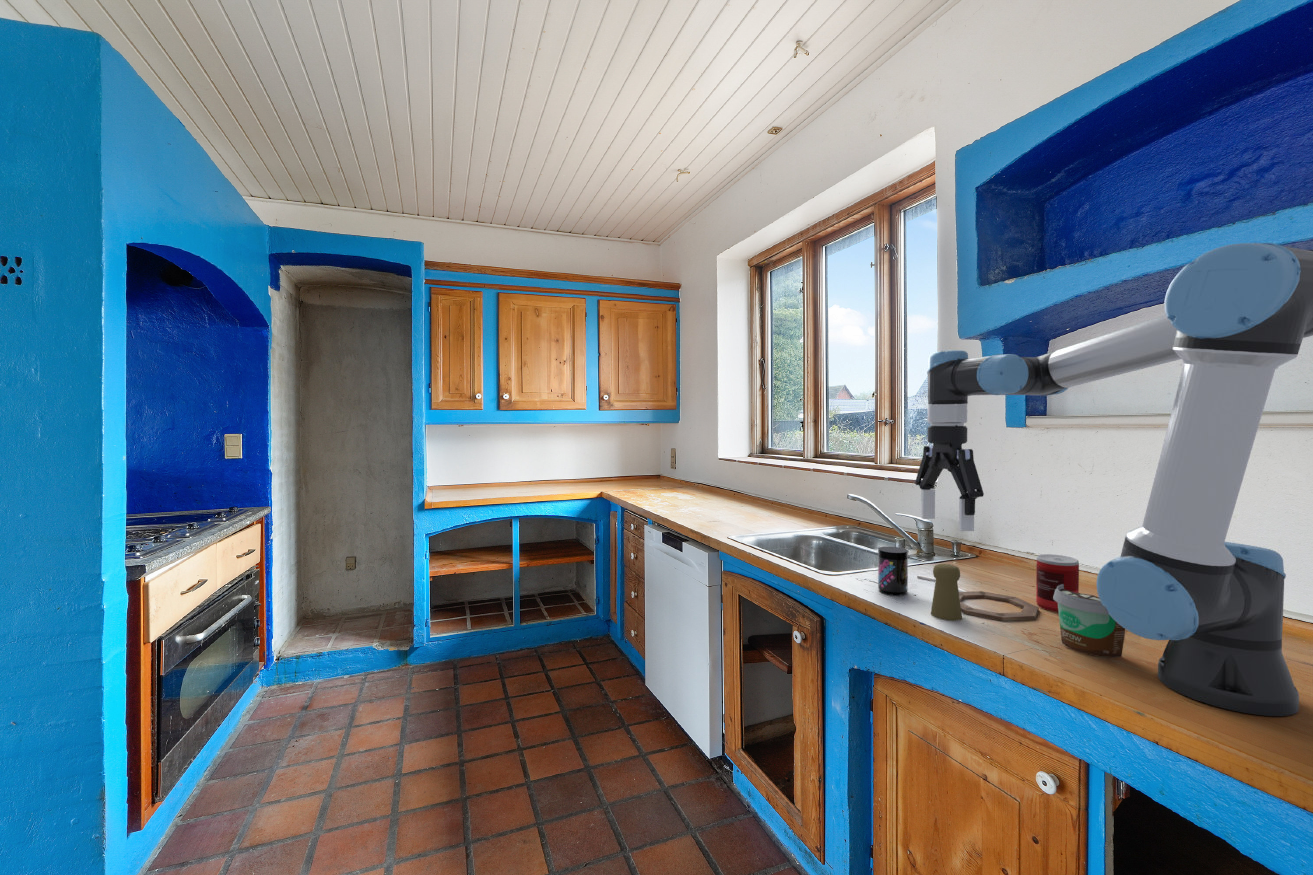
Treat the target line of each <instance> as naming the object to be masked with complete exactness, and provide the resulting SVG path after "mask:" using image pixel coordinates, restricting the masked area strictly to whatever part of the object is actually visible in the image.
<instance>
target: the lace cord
mask: <svg viewBox="0 0 1313 875" xmlns="http://www.w3.org/2000/svg"><path fill="white" fill-rule="evenodd" d="M916 578H917V579H922V580H926V581H931V582H934V583H935V582H936V579H935V577H930V576H925V575H921V574H920V575H919V574H918V575H916ZM958 591H959V592H967V591H966V590H964V589H963V588H960V587H958Z"/></svg>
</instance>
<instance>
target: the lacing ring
mask: <svg viewBox="0 0 1313 875" xmlns="http://www.w3.org/2000/svg"><path fill="white" fill-rule="evenodd" d="M959 598H960V605H961V612H962V614H964V615H967V616H968V615H969V616H974V617H980V618H983V619H989V620H996V621H1000V622H1014V621H1015V622H1016V621H1034V620H1035V619H1036V618H1037V616H1038V614H1039V612H1040V607H1039V606H1038V605H1035V604H1032V603H1031V602H1028V601H1026V600H1024V599H1022V598H1019V597H1016V596H1012V595H1007V594H1002V593H1001V594H1000V593H995V592H994V593H993V592H988V591H981V590H975V591H972V590H971V591H966V592H959ZM964 599H967V600H968V599H969V600H970V599H986V600H987V599H989V600H993V601H1001V602H1005V603H1009V604H1011V605H1014V606H1016V607H1018V608H1020V609H1022V610H1021V611H1016V612H1014V611H1013V612H1012V611H1011V612H996V611H995V612H994V611H991V610H984V609H979V608H974V607H972V606H970V605H968V604H966V603H964V602H962V601H963V600H964ZM1035 621H1036V620H1035Z"/></svg>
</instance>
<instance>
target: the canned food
mask: <svg viewBox="0 0 1313 875" xmlns="http://www.w3.org/2000/svg"><path fill="white" fill-rule="evenodd" d="M1035 567H1036V568H1035V570H1036V573H1035V574H1036V583H1035V584H1036V587H1035V588H1036V589H1035V590H1036V591H1035V600H1036V606H1038V607H1039V608H1040V609H1044V610H1046V611H1050V612H1054V613H1059V611H1058V602H1056V601H1055V600H1054V599H1053V596H1054V593H1055V590H1056V589H1057V586H1059V585H1062V584H1063V585H1064V589H1065V590H1068V591H1072V592H1076V593H1079V590H1080V588H1079V587H1080V584H1079V583H1080V563H1079V560H1078V559H1077V558H1074V557H1071V556H1067V555H1062V554H1049V553H1048V554H1045V553H1044V554H1039V555H1037V556H1036V566H1035Z"/></svg>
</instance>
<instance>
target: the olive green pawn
mask: <svg viewBox="0 0 1313 875" xmlns="http://www.w3.org/2000/svg"><path fill="white" fill-rule="evenodd" d="M959 568H960V567H958V566H956V565H954V564H951V563H937V564H935V565H934V566H933V568H932V574H933V578H935V579H936V582H935V581H934V589H933V590H934V591H933V597H932V604H931V610H930V615H931V616H932V617H934V618H936V619H938V620H939V619H940V620H944V621H952V622H953V621H960V620H962V619H963V613H962V612H961V605H960V598H959V591H958V588H959V586H958V581H959V580H960V578H961V571H960V569H959Z"/></svg>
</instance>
